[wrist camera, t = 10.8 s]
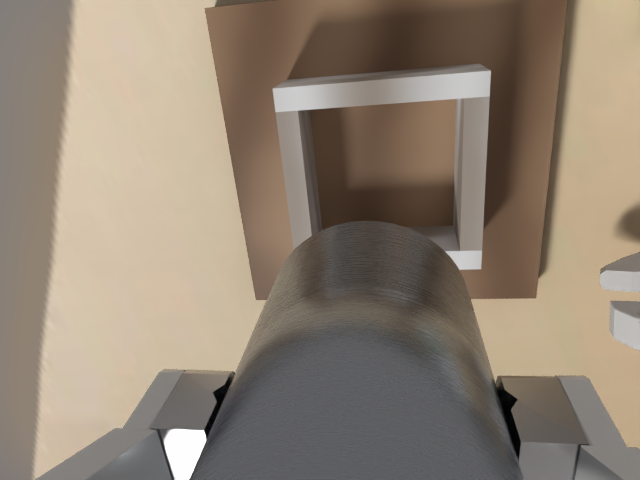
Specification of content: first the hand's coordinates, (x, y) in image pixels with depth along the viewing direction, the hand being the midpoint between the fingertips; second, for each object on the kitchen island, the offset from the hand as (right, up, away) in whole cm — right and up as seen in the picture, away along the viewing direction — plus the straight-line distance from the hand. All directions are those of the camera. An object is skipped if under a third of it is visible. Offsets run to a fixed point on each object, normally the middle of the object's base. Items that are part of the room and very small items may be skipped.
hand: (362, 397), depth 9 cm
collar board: (+3, +7, +16) cm, 18 cm away
